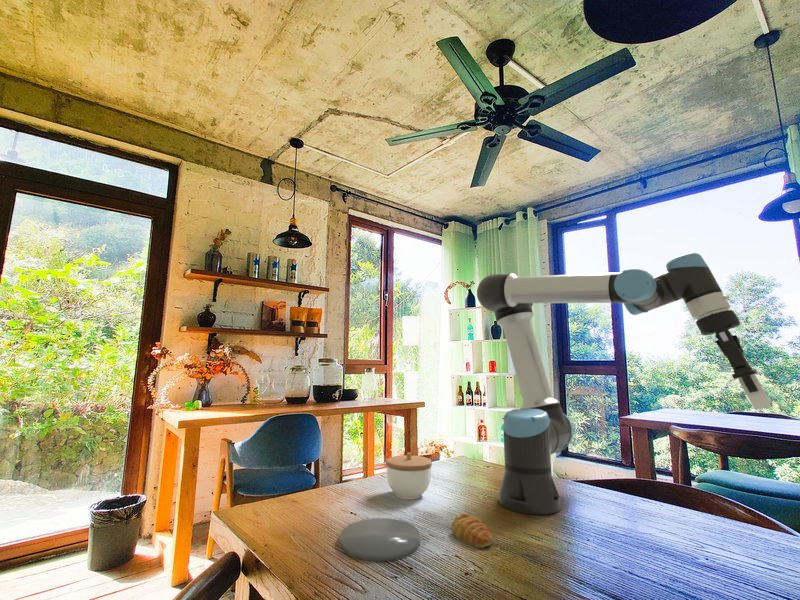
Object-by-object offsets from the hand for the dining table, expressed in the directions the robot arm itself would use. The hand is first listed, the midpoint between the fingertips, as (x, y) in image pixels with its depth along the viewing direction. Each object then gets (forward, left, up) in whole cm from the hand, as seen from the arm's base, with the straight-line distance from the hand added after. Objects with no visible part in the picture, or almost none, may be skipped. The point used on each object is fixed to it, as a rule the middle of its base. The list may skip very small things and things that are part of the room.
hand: (763, 406), depth 83 cm
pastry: (-10, -62, -28) cm, 68 cm away
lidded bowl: (-37, -71, -27) cm, 85 cm away
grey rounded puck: (-9, -81, -27) cm, 86 cm away
